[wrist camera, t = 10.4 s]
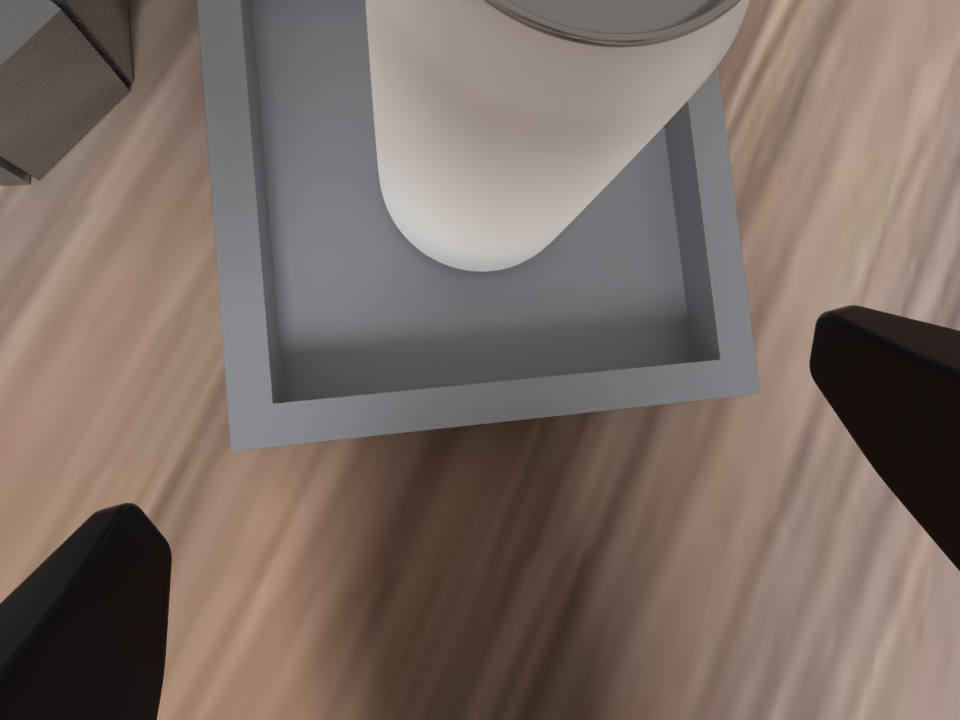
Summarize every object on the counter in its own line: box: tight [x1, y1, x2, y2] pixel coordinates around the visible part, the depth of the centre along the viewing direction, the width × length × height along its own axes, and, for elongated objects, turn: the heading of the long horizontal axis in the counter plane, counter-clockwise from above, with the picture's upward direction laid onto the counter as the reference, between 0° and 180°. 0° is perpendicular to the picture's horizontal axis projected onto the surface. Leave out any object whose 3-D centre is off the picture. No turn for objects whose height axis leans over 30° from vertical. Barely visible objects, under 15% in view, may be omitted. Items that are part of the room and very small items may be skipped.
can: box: [365, 0, 750, 272], centre depth 14 cm, size 6×6×12 cm
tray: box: [197, 0, 760, 451], centre depth 19 cm, size 16×16×2 cm
